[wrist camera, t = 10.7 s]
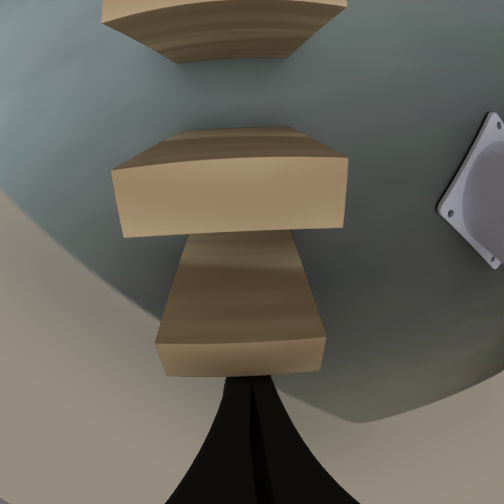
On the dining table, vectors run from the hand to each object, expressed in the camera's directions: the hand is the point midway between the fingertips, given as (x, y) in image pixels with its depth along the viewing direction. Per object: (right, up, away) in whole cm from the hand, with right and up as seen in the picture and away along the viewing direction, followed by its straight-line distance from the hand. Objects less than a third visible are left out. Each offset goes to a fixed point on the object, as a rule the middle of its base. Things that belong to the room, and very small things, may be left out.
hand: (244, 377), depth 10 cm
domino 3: (0, +5, +5) cm, 7 cm away
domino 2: (-1, +10, +2) cm, 10 cm away
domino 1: (-1, +14, 0) cm, 14 cm away
